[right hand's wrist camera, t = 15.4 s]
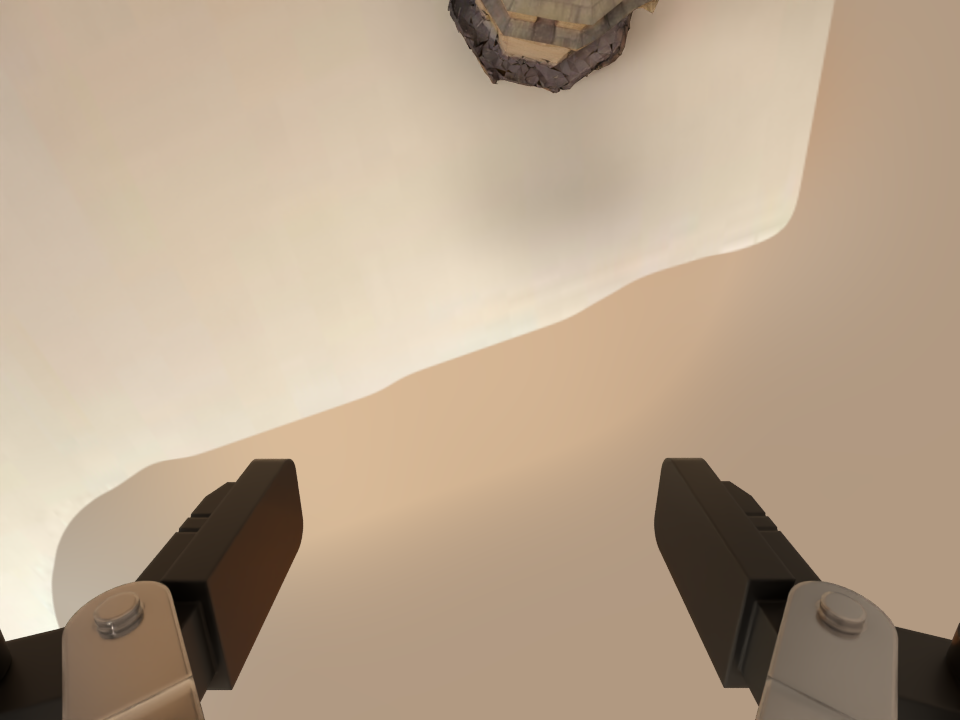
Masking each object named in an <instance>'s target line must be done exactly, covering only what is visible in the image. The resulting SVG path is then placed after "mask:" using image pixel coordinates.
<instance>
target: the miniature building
mask: <svg viewBox="0 0 960 720" xmlns="http://www.w3.org/2000/svg"><path fill="white" fill-rule="evenodd" d="M657 3H658V0H450V2H449V6H448V11H450V16H451V17H452V19H453V21H454V22H455V24H456V27H457V30H458V32H459V31H460V33H461V34H462V35H463V37H464V39H465V41H466V43H467V45H468V47H469V49H472V51H473V53H474V54H475V56H476V57H477V59H478V61H479V63H480V64H481V66H482V68H483V70H484V72H485V73H486V74H487V75H488V76H489V78H490V80H491V82H492V83H493V84H498V83H496V82H497V80H500V79H501V80H506V81H510V82H514V83H518V84H522V85H527V86H536V87H540V88H544V89H546V90H549V91H551V92H553V93H557V92H559V91H560V89H562V90H566V89H570V88H571V87H572V86H573V85H574V84H575V83H576V82H578V81H579V80H580V79H582V78H583V77H584V76H586V77H587V75H588V74H590V73H591V72H592V71H593V70H599V69H601V68H603V67H605V66H607V65H609V64H611V63H612V62H614V61H615V60H616V59H617V58H618V57H619V56H620V55H621V54H622V51H623V49H624V47H625V42H626V37H627V32H628V30H629V29H630V19H631V16H632V12H633V10H635V9H637V8H644V9H646V10H648V11H649V12H651V13H653V12H654V9H655V7H656V5H657ZM482 10H483V11H485V12H486V13H487V14H488V15H486V14H485V13H484V12H483V11H482ZM482 17H483V18H484V19H485V20H484V19H483V18H482ZM486 20H491V21H486ZM497 33H498V37H497V38H496V36H497ZM495 39H496V40H497V42H498V44H497V45H496V46H495V43H494V42H495ZM500 43H501V44H500ZM499 47H500V49H499ZM505 50H506V51H505ZM497 51H498V52H497ZM569 51H570V52H569ZM498 53H499V54H498ZM512 54H513V55H512ZM569 54H570V55H569ZM522 56H524V57H523V58H522ZM501 58H502V59H501ZM519 58H520V59H519ZM541 58H542V59H541ZM503 59H504V60H503ZM521 59H522V60H521ZM543 59H545V60H543ZM550 59H551V60H550ZM505 60H506V61H505ZM515 60H516V61H515ZM520 60H521V61H520ZM546 60H548V61H550V62H548V64H547V61H546ZM523 61H525V62H527V61H528V62H527V63H524V62H523ZM537 61H539V62H540V63H541V64H539V63H538V62H537ZM536 62H537V63H536ZM556 62H557V63H556ZM511 64H512V65H511ZM535 64H536V65H535ZM528 67H529V68H528Z"/></svg>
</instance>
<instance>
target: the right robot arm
mask: <svg viewBox="0 0 960 720" xmlns="http://www.w3.org/2000/svg"><path fill="white" fill-rule="evenodd" d="M654 529H655V537H656V541H657V545H658V548H659V550H660V552H661V554H662V556H663V558H664V561H665V563H666V565H667V567H668V569H669V571H670V573H671V576H672V578H673V580H674V582H675V584H676V586H677V588H678V590H679V593H680V595H681V597H682V599H683V601H684V603H685V605H686V607H687V610H688V612H689V614H690V616H691V618H692V620H693V622H694V625H695V627H696V629H697V631H698V633H699V635H700V638H701V640H702V642H703V644H704V646H705V648H706V650H707V652H708V655H709V657H710V659H711V661H712V663H713V665H714V667H715V670H716V672H717V674H718V676H719V678H720V680H721V682H722V684H723V687H724V688H749V689H750V691H751V692H752V694H753V696H754V698H755V700H756V702H757V704H758V706H759V708H758V711H757V715H756V719H755V720H960V623H959V625H958V627H957V630H956V632H955V635H954V637H953V639H952V640H950V639H945V638H941V637H937V636H933V635H929V634H924V633H920V632H916V631H911V630H907V629H903V628H899V627H895V626H894V625H893V623H892V621H891V620H890V619H889V617H888V616H887V615H886V614H885V613H884V612H883V611H882V610H881V609H880V608H879V607H878V606H876V605H875V604H874V603H872V602H871V601H870V600H868V599H866V598H865V597H863V596H862V595H860V594H858V593H856V592H854V591H852V590H850V589H847V588H845V587H842V586H839V585H836V584H832V583H828V582H822V581H821V580H820V579H819V577H818V576H817V575H816V574H815V573H814V571H813V570H812V569H811V568H810V567H809V565H808V564H807V563H806V562H805V560H804V559H803V558H802V557H801V556H800V554H799V553H798V552H797V551H796V550H795V548H794V547H793V546H792V545H791V543H790V542H789V541H788V540H787V539H786V537H785V536H784V535H783V534H782V533H781V531H778V530H777V527H776V525H775V524H774V523H773V522H772V520H771V519H770V518H769V517H768V516H766V515H765V512H764V511H763V509H762V508H761V507H760V506H759V505H758V503H757V502H756V501H755V500H754V499H753V497H752V496H751V495H749V494H748V493H746V492H745V491H743V490H742V489H740V488H739V487H737V486H736V485H734V484H733V483H731V482H730V481H720V479H719V478H718V477H717V475H716V474H715V473H714V472H713V470H712V469H711V468H710V466H709V465H708V464H707V462H706V461H705V460H704V459H702V458H666V459H665V460H664V462H663V464H662V468H661V475H660V482H659V489H658V496H657V503H656V510H655V518H654ZM302 533H303V516H302V510H301V502H300V495H299V489H298V481H297V475H296V468H295V464H294V462H293V461H292V460H291V459H254V460H253V461H252V462H251V463H250V465H249V466H248V467H247V468H246V470H245V471H244V472H243V474H242V475H241V476H240V477H239V479H238V480H237V481H236V482H227V483H226V484H224V485H223V486H221V487H220V488H218V489H217V490H215V491H214V492H212V493H211V494H209V495H208V496H206V497H205V498H204V499H203V500H202V502H201V503H200V504H199V505H198V506H197V508H196V509H195V510H194V511H193V512H192V514H191V518H188V519H187V520H186V521H185V522H184V523H183V524H182V526H181V527H180V528H179V532H176V533H175V534H174V535H173V536H172V538H171V539H170V540H169V541H168V543H167V544H166V545H165V546H164V547H163V549H162V550H161V551H160V552H159V553H158V555H157V556H156V557H155V558H154V559H153V561H152V562H151V563H150V564H149V565H148V567H147V568H146V569H145V570H144V571H143V573H142V574H141V575H140V576H139V578H138V579H137V580H136V581H135V582H132V583H128V584H124V585H121V586H118V587H115V588H113V589H110V590H108V591H106V592H104V593H102V594H100V595H98V596H97V597H95V598H94V599H92V600H90V601H89V602H88V603H86V604H85V605H84V606H82V607H81V608H80V609H79V610H78V611H77V612H76V613H75V614H74V615H73V616H72V617H71V619H70V620H69V622H68V623H67V624H66V626H65V627H64V628H60V629H56V630H52V631H48V632H44V633H39V634H35V635H31V636H27V637H23V638H18V639H14V640H10V641H6V642H5V639H4V637H3V635H2V632H1V630H0V720H205V719H204V715H203V711H202V708H201V704H200V702H201V700H202V698H203V696H204V694H205V692H206V690H232V689H233V687H234V685H235V682H236V680H237V678H238V676H239V674H240V672H241V670H242V668H243V666H244V663H245V661H246V659H247V657H248V655H249V653H250V651H251V649H252V647H253V644H254V642H255V640H256V638H257V636H258V634H259V632H260V630H261V627H262V625H263V623H264V621H265V619H266V617H267V615H268V613H269V611H270V609H271V606H272V604H273V602H274V600H275V598H276V596H277V594H278V592H279V590H280V587H281V585H282V583H283V581H284V579H285V577H286V575H287V573H288V571H289V568H290V566H291V564H292V562H293V560H294V558H295V556H296V554H297V552H298V549H299V547H300V544H301V539H302Z"/></svg>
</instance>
